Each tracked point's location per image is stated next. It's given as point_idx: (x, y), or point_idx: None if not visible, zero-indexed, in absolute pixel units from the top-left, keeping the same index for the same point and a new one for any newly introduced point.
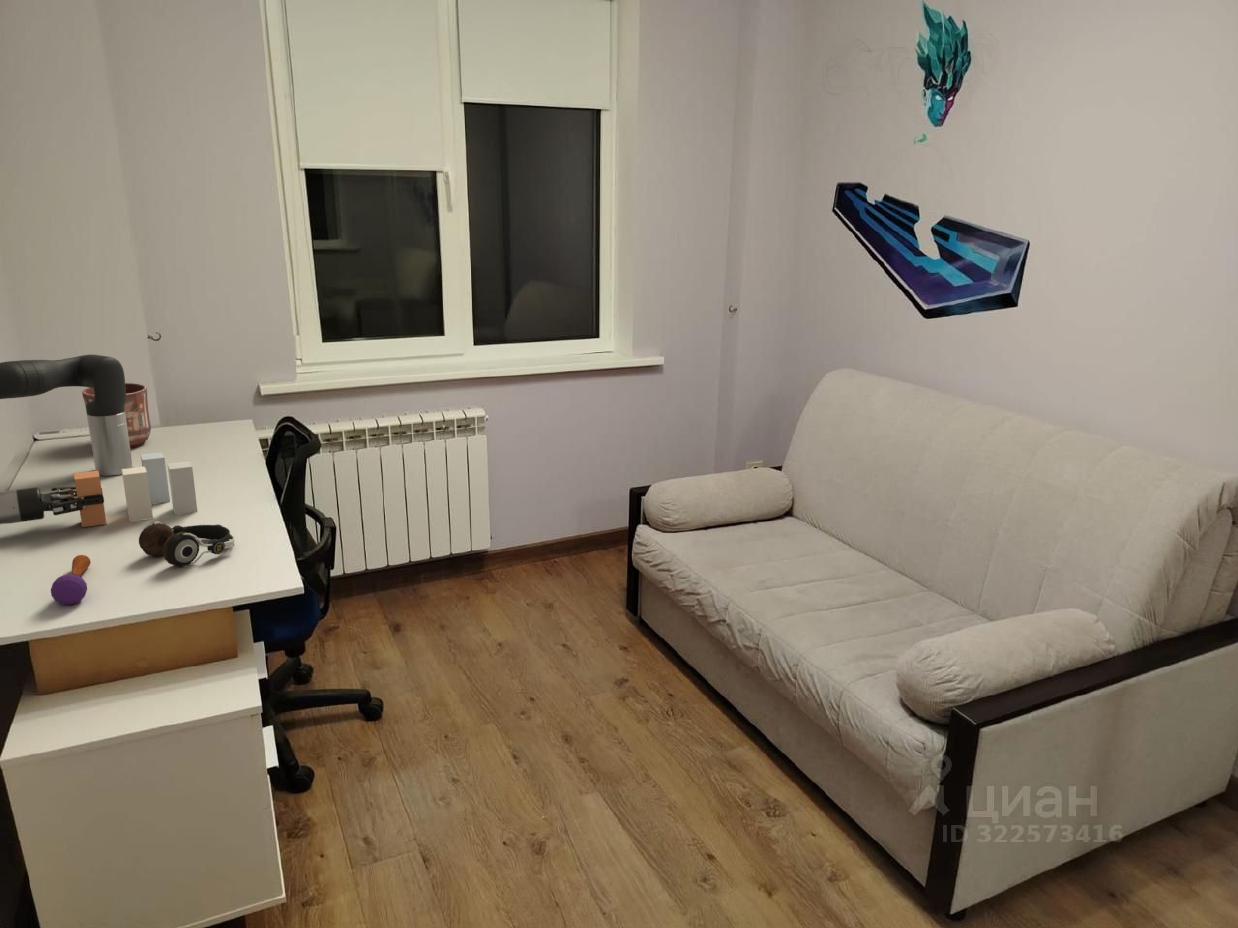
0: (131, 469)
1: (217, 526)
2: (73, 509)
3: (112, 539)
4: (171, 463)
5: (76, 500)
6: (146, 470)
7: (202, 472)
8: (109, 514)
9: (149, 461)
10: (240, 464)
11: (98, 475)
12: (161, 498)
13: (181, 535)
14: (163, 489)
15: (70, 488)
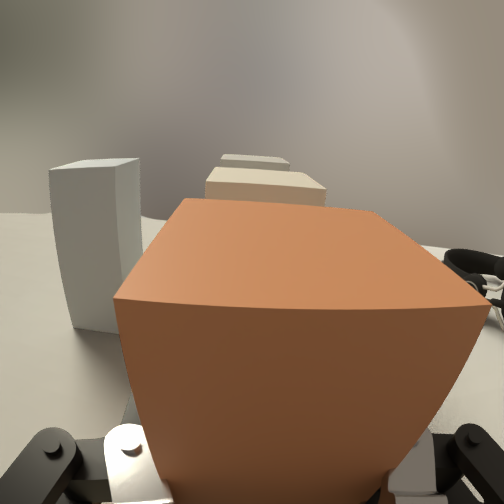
0: (235, 175)
1: (448, 253)
2: (470, 498)
3: (460, 423)
4: (223, 158)
5: (486, 446)
6: (120, 210)
7: (24, 245)
8: None
9: (124, 172)
10: (45, 222)
11: (342, 210)
12: None
13: None
14: None
15: (48, 499)
